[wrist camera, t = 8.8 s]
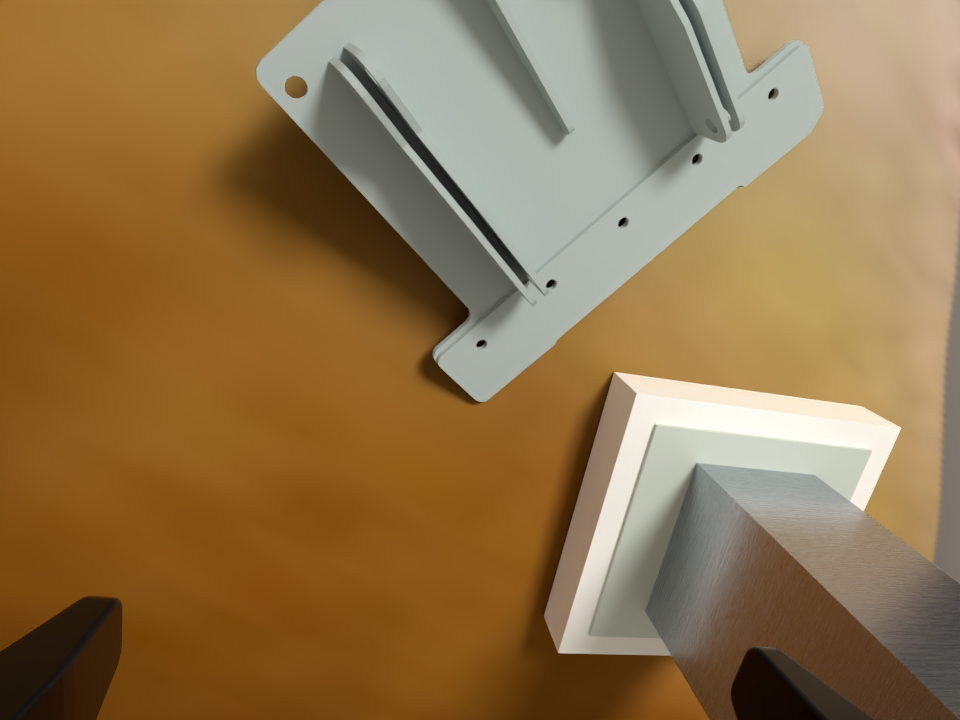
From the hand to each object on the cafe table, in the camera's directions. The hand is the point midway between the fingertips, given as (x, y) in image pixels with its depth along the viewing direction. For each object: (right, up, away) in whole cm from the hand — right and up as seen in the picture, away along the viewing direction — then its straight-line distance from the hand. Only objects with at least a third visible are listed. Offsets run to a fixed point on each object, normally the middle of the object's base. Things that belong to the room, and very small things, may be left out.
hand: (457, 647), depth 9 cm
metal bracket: (+2, +12, +11) cm, 16 cm away
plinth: (+9, -2, +17) cm, 19 cm away
